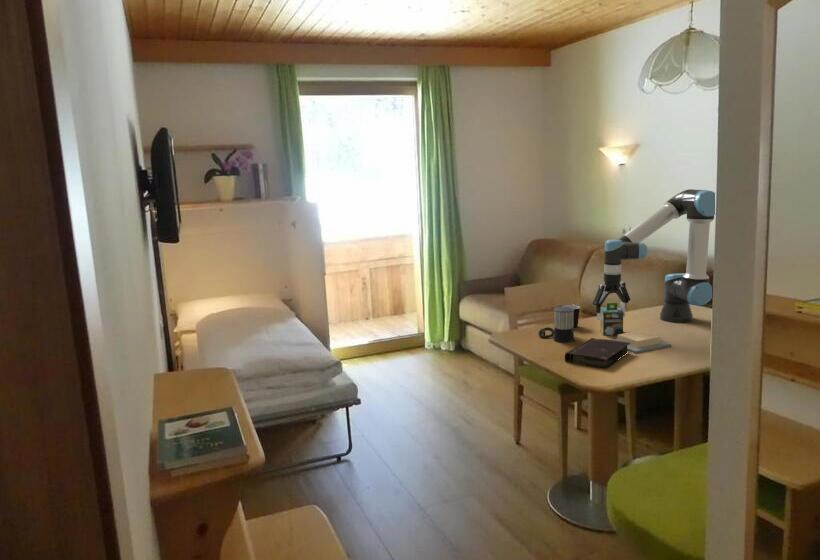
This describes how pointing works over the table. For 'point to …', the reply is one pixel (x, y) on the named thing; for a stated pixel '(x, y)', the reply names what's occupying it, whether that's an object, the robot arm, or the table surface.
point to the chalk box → (612, 320)
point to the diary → (597, 353)
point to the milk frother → (561, 325)
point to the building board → (642, 349)
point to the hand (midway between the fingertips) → (611, 317)
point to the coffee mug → (575, 314)
